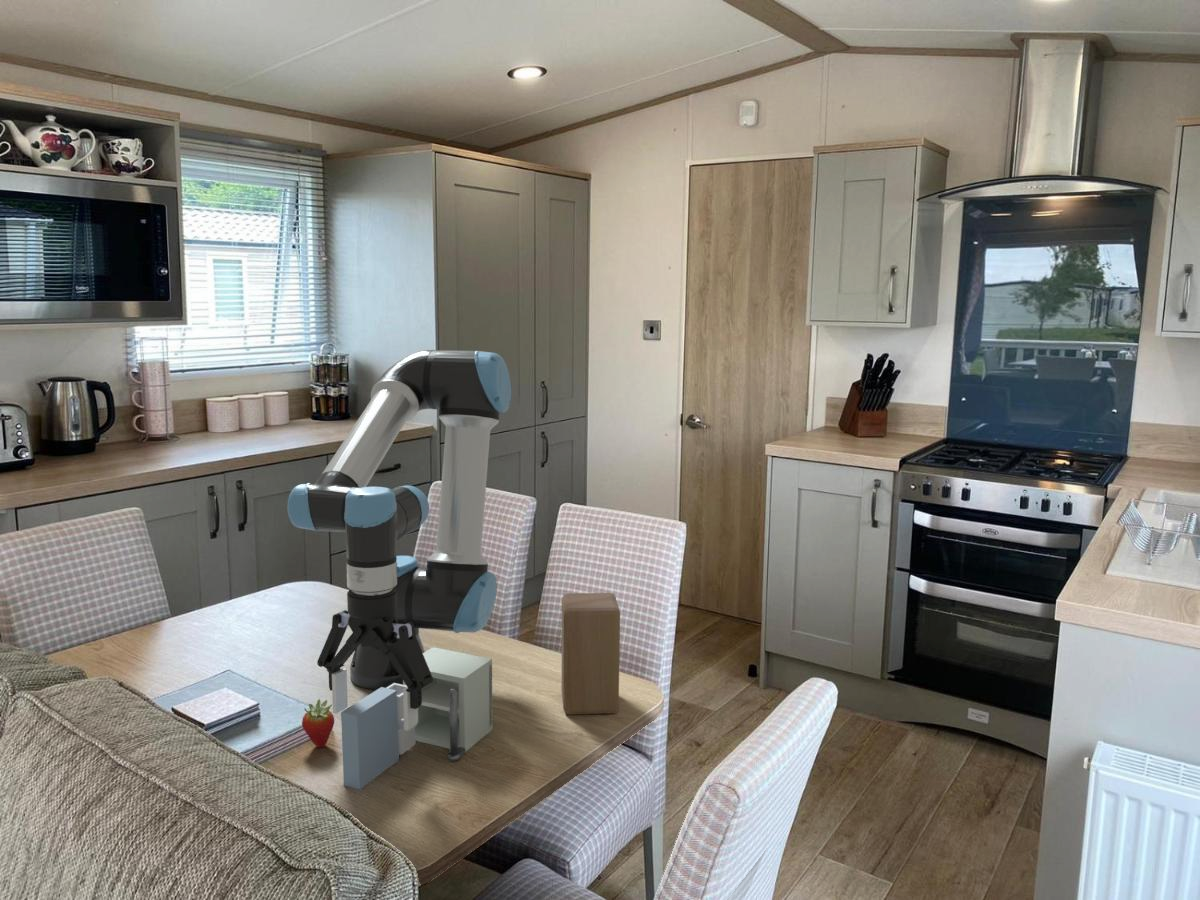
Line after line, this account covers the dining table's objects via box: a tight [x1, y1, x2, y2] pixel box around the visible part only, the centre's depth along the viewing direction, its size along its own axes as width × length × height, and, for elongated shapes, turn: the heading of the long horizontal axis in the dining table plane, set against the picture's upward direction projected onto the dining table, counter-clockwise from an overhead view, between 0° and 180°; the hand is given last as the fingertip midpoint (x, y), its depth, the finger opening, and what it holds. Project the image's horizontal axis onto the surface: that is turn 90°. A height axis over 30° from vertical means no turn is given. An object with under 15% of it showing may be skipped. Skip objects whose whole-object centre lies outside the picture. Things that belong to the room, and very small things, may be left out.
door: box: [340, 683, 416, 790], centre depth 149 cm, size 4×14×12 cm, turn 156°
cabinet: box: [403, 646, 493, 753], centre depth 160 cm, size 12×9×13 cm
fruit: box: [301, 698, 335, 748], centre depth 155 cm, size 5×5×8 cm
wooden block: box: [561, 592, 621, 715], centre depth 171 cm, size 10×10×20 cm
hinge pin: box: [447, 689, 466, 763], centre depth 152 cm, size 2×4×12 cm, turn 156°
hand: (375, 718), depth 147 cm, fingers open, 13 cm apart
